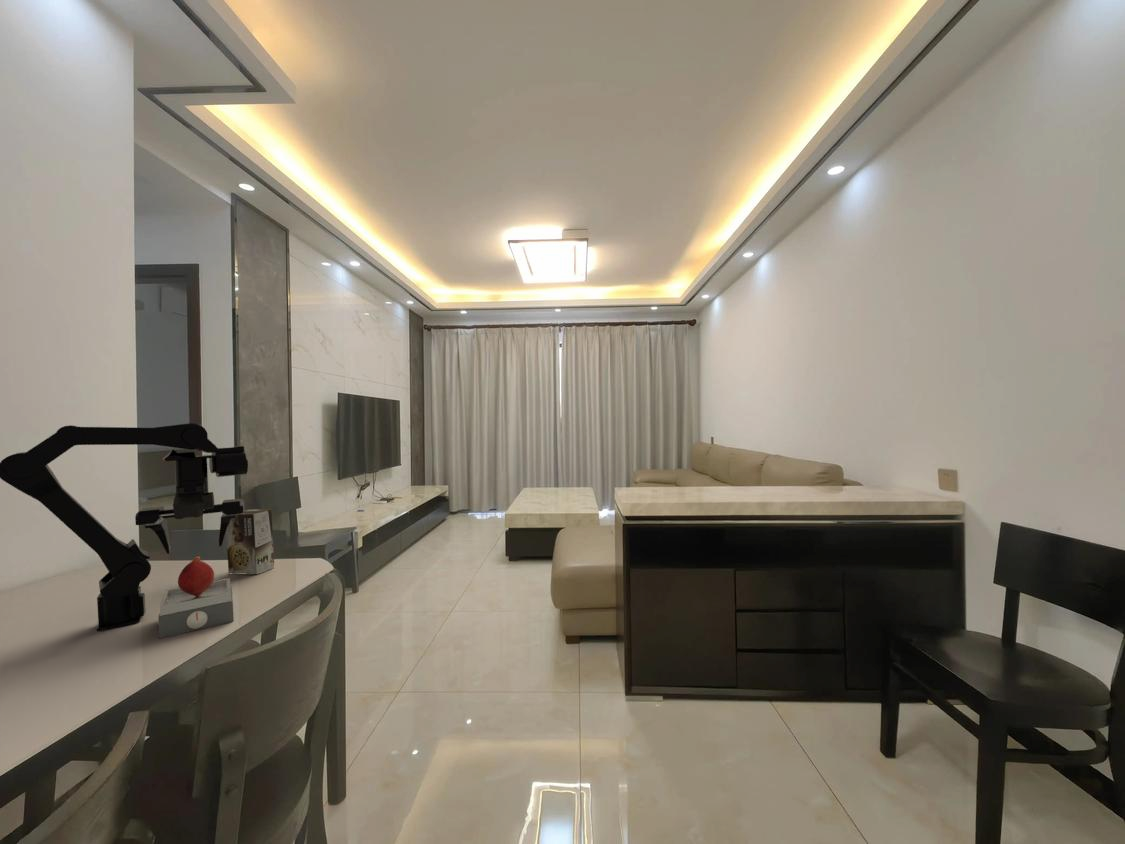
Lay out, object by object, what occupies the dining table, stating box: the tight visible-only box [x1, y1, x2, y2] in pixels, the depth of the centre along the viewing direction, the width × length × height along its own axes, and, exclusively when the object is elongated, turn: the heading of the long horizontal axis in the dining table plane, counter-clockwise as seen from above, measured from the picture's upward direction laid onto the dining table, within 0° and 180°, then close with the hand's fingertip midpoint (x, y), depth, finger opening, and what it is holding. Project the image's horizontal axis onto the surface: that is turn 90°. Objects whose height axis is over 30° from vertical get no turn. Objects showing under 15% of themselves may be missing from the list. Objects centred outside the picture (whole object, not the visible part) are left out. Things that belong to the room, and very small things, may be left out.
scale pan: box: [159, 577, 231, 616], centre depth 98 cm, size 11×11×2 cm
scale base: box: [157, 585, 235, 639], centre depth 98 cm, size 12×12×4 cm
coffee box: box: [225, 508, 275, 575], centre depth 129 cm, size 9×6×16 cm
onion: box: [177, 556, 215, 596], centre depth 98 cm, size 6×6×8 cm
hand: (195, 549), depth 107 cm, fingers open, 9 cm apart
